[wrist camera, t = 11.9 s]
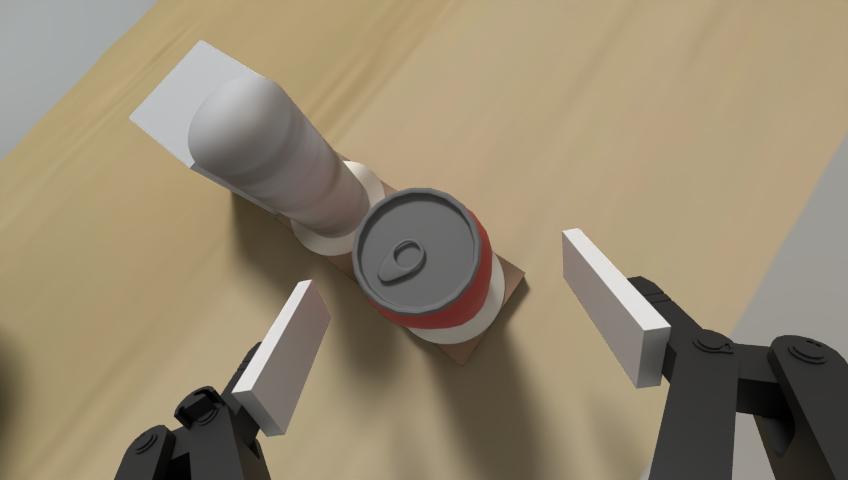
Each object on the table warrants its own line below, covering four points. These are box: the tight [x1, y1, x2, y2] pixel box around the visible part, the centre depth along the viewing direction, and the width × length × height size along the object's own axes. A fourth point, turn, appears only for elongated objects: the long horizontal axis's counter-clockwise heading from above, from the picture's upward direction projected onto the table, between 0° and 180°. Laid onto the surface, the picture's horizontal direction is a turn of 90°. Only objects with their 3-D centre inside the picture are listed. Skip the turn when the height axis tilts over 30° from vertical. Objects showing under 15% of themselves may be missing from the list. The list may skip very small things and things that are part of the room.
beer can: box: [352, 188, 493, 329], centre depth 19 cm, size 7×7×12 cm
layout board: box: [188, 76, 525, 367], centre depth 21 cm, size 21×9×13 cm, turn 53°
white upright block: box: [129, 40, 279, 216], centre depth 27 cm, size 8×8×10 cm
